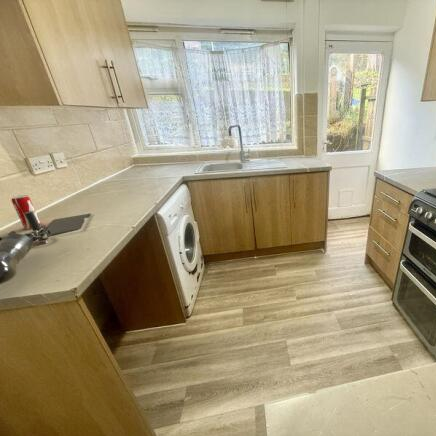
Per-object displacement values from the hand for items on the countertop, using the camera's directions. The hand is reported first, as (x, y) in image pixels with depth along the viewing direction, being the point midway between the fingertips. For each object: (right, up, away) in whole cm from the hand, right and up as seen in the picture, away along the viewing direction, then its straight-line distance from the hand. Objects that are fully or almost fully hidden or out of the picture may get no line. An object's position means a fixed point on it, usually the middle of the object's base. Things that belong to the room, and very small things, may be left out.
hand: (29, 230), depth 92 cm
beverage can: (-22, +1, +23) cm, 32 cm away
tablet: (-6, +1, +23) cm, 23 cm away
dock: (-2, -5, +8) cm, 10 cm away
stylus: (-3, -5, +7) cm, 9 cm away
